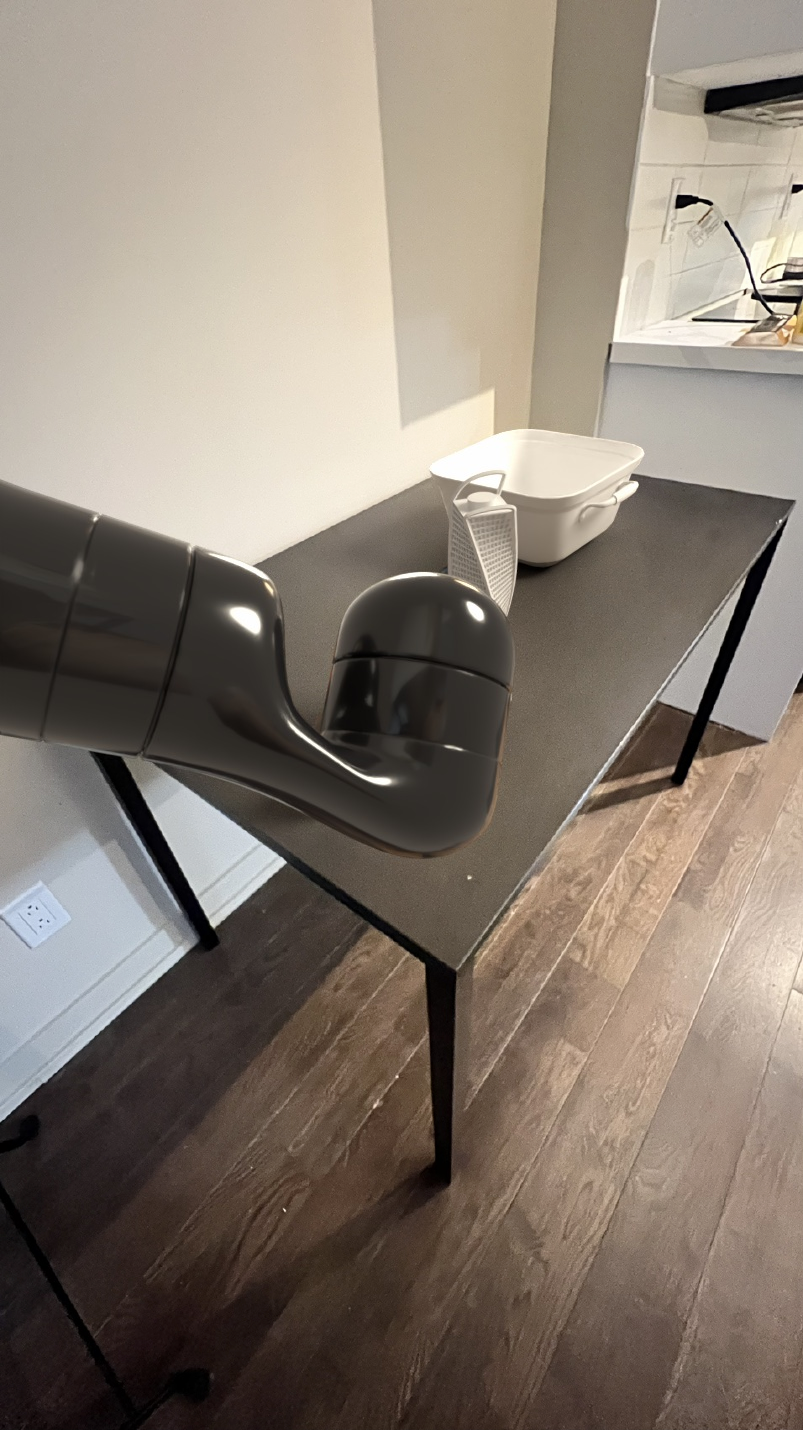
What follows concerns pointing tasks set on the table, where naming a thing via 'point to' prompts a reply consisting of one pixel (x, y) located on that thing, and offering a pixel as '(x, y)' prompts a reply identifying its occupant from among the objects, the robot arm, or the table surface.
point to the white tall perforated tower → (484, 541)
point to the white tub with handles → (547, 486)
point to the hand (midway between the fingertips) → (348, 764)
